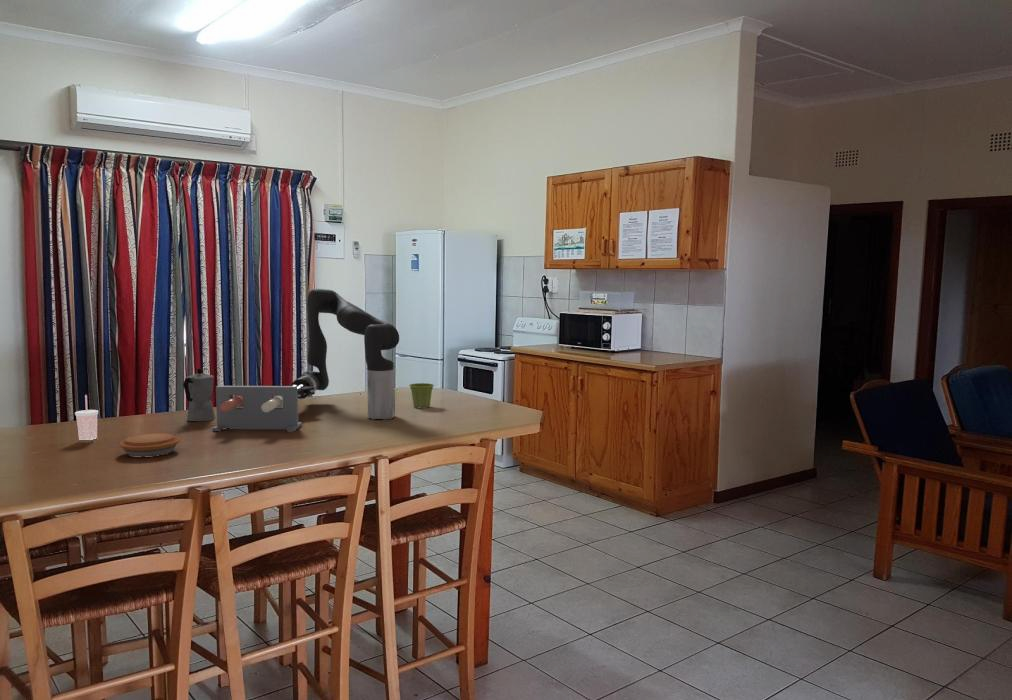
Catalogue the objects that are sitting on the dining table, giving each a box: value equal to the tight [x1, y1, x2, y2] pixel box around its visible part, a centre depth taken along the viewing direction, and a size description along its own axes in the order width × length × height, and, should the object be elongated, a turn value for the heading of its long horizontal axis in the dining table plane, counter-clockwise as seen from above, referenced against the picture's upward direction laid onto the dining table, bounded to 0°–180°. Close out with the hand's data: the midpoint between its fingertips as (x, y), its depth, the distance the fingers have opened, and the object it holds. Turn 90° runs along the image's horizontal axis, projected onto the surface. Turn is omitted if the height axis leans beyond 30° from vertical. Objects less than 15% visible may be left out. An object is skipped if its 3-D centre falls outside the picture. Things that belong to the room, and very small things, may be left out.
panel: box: [211, 385, 303, 433], centre depth 242 cm, size 26×10×14 cm, turn 90°
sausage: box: [220, 395, 243, 412], centre depth 238 cm, size 5×15×5 cm, turn 0°
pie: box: [119, 432, 181, 457], centre depth 208 cm, size 16×16×5 cm
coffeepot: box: [182, 368, 216, 422], centre depth 255 cm, size 15×9×18 cm, turn 169°
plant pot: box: [408, 382, 435, 408], centre depth 284 cm, size 9×9×9 cm
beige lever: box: [261, 396, 283, 412], centre depth 238 cm, size 5×15×5 cm, turn 0°
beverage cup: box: [74, 394, 99, 441], centre depth 223 cm, size 6×6×14 cm
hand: (290, 394), depth 257 cm, fingers closed
